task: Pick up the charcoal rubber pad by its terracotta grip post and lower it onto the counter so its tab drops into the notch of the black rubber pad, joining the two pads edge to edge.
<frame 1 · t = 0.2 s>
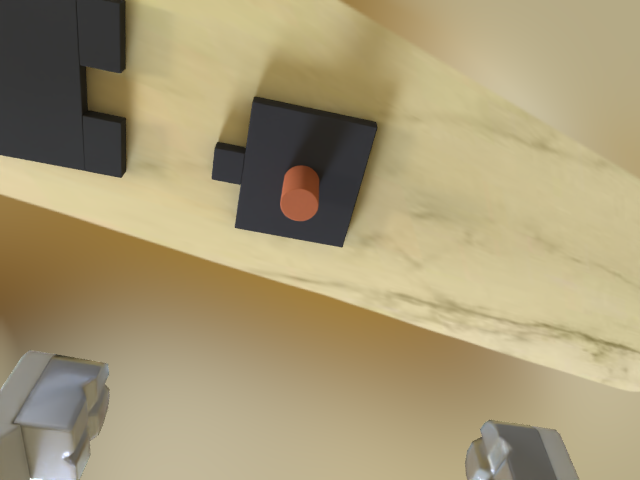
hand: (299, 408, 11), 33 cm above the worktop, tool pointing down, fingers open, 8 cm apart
tab pad: (302, 174, 45), on the worktop
notch pad: (34, 75, 40), on the worktop
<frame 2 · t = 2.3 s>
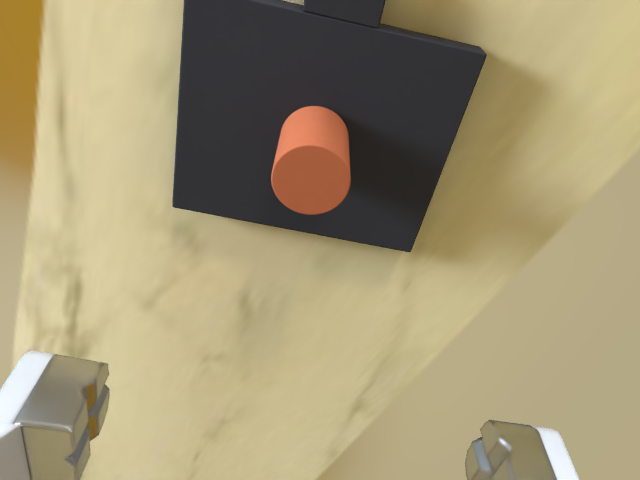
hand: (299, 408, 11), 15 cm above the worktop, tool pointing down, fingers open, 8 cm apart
tab pad: (315, 127, 24), on the worktop
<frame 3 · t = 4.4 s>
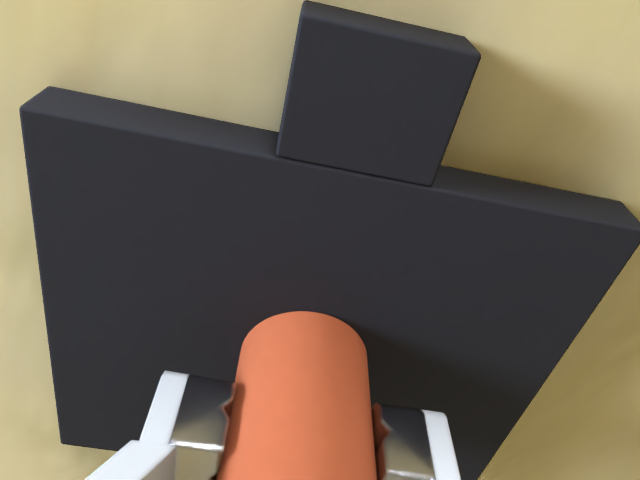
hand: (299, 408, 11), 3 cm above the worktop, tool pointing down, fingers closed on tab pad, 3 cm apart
tab pad: (305, 321, 13), on the worktop, touching gripper
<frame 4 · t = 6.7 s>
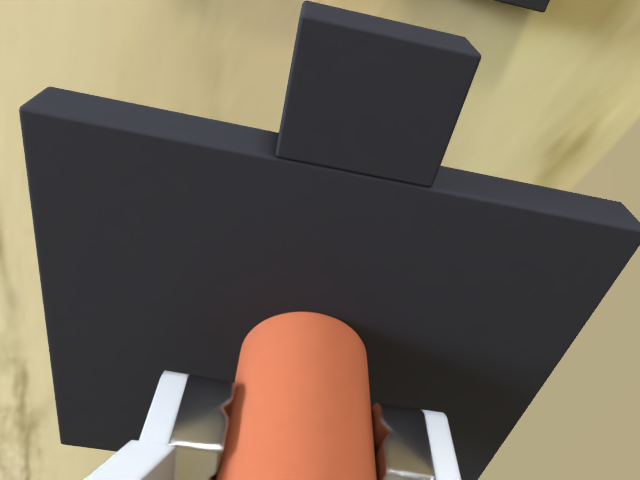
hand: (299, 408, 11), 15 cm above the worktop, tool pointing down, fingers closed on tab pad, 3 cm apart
tab pad: (305, 322, 13), point 13 cm above the worktop, touching gripper
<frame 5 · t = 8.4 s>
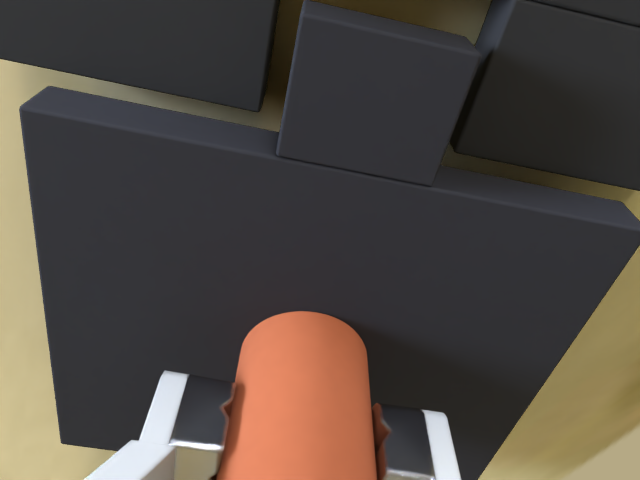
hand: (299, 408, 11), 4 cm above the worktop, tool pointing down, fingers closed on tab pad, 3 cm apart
tab pad: (305, 321, 13), point 1 cm above the worktop, touching gripper
when the fingers open (2 cm above the worktop, at t = 9.1 s): tab pad stays where it is, on the worktop.
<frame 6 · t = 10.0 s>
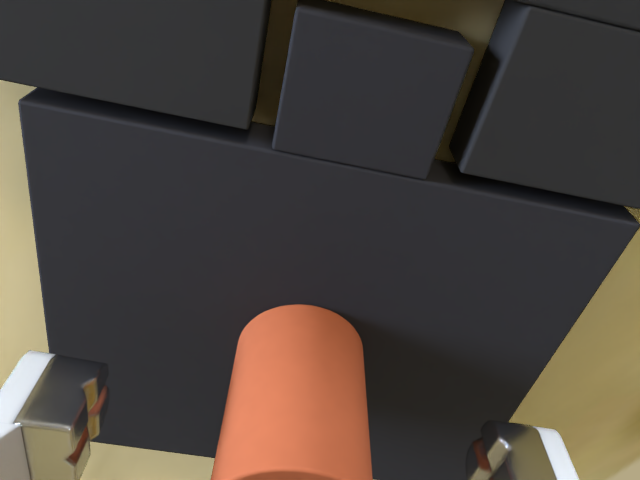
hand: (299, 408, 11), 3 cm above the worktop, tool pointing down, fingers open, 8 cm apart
tab pad: (302, 315, 13), on the worktop
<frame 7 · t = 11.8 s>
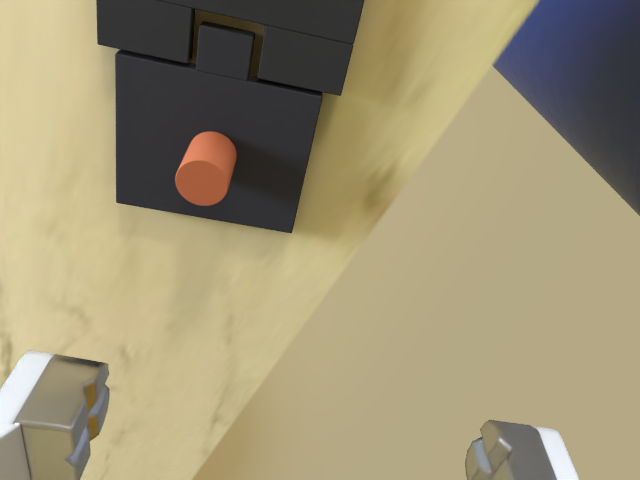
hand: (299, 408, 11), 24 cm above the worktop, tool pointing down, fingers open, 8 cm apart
tab pad: (215, 145, 34), on the worktop
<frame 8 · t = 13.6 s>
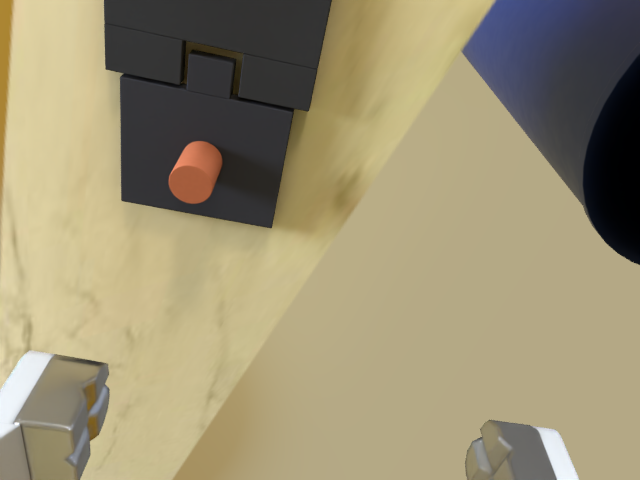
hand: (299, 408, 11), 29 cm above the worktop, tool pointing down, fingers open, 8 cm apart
tab pad: (205, 152, 39), on the worktop
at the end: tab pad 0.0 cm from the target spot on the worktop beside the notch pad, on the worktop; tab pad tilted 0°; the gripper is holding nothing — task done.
